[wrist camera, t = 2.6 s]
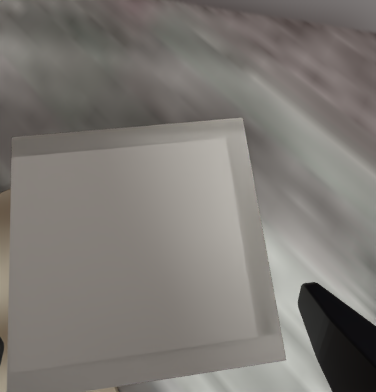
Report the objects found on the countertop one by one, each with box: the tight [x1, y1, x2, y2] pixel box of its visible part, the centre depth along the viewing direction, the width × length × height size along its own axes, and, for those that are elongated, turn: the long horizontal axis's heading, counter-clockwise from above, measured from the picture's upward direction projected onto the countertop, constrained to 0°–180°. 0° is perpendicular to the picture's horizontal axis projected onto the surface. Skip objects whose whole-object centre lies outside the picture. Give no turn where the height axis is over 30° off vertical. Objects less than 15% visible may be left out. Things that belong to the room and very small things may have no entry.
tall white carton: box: [7, 118, 286, 392], centre depth 12 cm, size 5×5×12 cm
